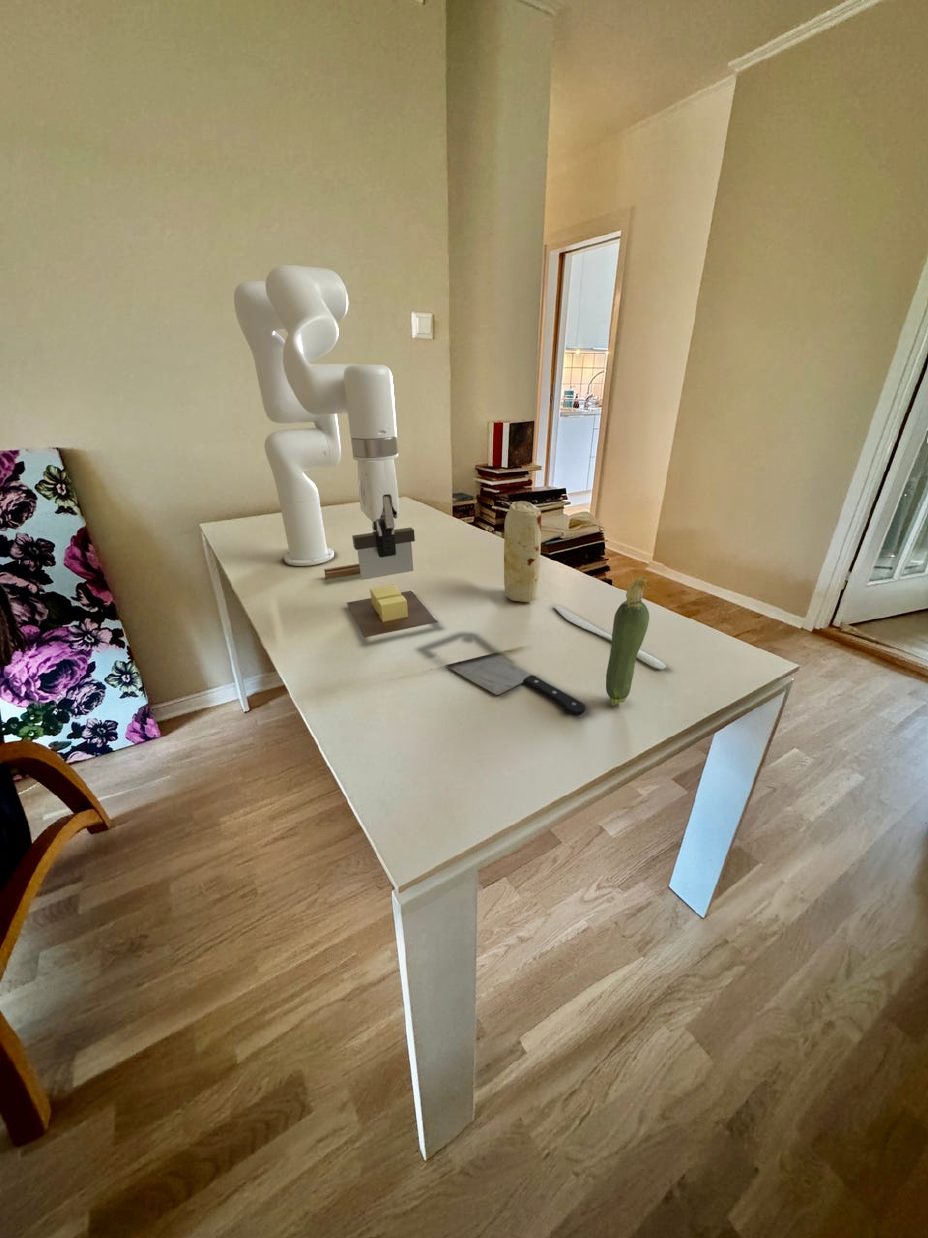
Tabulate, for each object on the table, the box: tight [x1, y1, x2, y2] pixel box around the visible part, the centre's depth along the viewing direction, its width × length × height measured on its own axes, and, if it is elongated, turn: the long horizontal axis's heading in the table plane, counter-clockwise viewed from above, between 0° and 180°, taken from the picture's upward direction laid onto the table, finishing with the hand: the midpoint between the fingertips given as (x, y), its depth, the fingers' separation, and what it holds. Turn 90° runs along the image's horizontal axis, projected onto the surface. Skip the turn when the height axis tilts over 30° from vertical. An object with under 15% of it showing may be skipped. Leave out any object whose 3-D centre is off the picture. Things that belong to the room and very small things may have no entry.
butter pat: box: [378, 596, 408, 622], centre depth 91 cm, size 2×5×4 cm, turn 114°
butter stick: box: [369, 583, 401, 614], centre depth 95 cm, size 5×5×4 cm
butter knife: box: [554, 605, 667, 670], centre depth 87 cm, size 1×27×3 cm
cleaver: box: [445, 652, 586, 715], centre depth 76 cm, size 29×1×10 cm
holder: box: [323, 563, 361, 580], centre depth 114 cm, size 3×13×2 cm, turn 114°
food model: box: [503, 500, 542, 603], centre depth 98 cm, size 10×7×20 cm
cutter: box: [351, 527, 416, 581], centre depth 88 cm, size 2×11×8 cm, turn 113°
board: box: [346, 590, 438, 638], centre depth 94 cm, size 16×14×2 cm
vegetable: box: [605, 576, 650, 706], centre depth 65 cm, size 4×4×20 cm
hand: (385, 553), depth 88 cm, fingers closed on cutter, 1 cm apart
